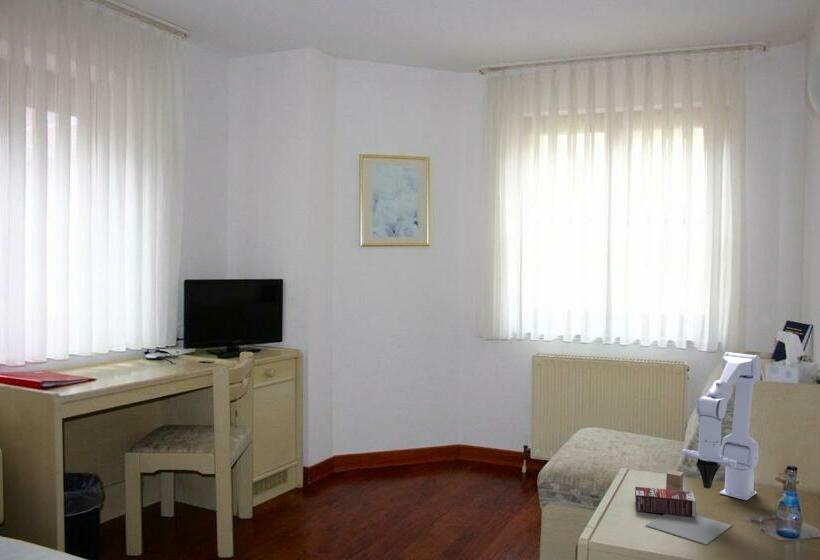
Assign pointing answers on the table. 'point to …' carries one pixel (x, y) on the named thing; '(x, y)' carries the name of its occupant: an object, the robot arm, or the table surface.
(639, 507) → the supplement box
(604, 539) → the table surface
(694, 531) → the mat
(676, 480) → the walnut block
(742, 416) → the robot arm
